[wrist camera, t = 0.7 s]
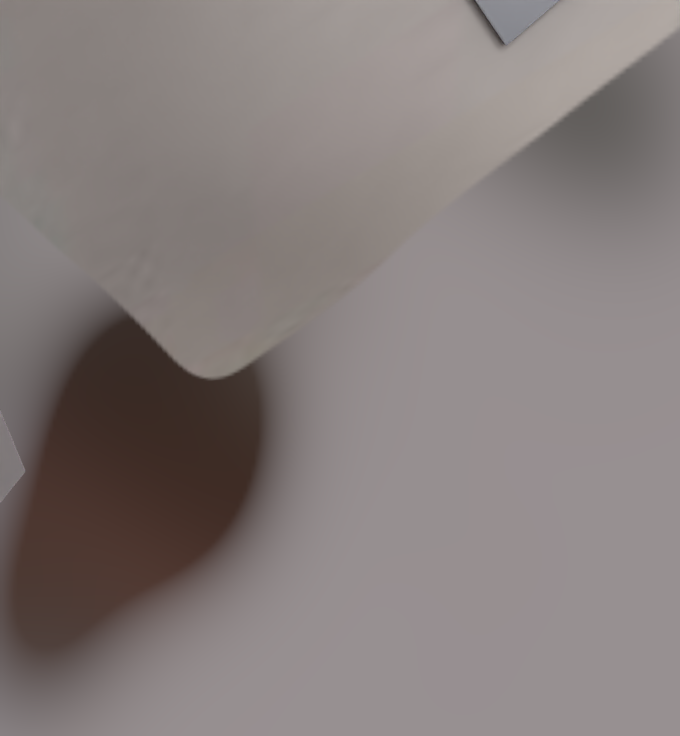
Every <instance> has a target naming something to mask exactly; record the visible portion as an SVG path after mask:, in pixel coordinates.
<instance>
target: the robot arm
mask: <svg viewBox="0 0 680 736" xmlns="http://www.w3.org/2000/svg"><path fill="white" fill-rule="evenodd" d="M24 473H25V469H24V466H23V464H22V462H21V459H20V457H19V454H18V452H17V449H16V447H15V444H14V442H13V439H12V437H11V435H10V432H9V430H8V427H7V425H6V422H5V420H4V418H3V415H2V413H1V410H0V502H1V501H2V500H3V499H4V498H5V496H6V495H7V494H8V493H9V491H10V490H11V488H13V486H14V485H15V484H16V483H17V481H18V480H19V479H20V478H21V476H22V475H23V474H24Z"/></svg>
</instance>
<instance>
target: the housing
mask: <svg viewBox="0 0 680 736" xmlns="http://www.w3.org/2000/svg"><path fill="white" fill-rule="evenodd" d="M558 1H559V0H475V2H476V3H477V5H478V6H479V8H480V9H481V11H482V12H483V14H484V15H485V17H486V18H487V20H488V21H489V23H490V24H491V26H492V27H493V28H494V30H495V31H496V33H497V34H498V36H499V37H500V39H501V40H502V42H503V43H504V44H505V45H508V44H509V43H510V42H511V41H512V40H513V39H515V38H516V37H517V36H518V35H519V34H520V33H522V32H523V31H524V30H525V29H526V28H527V27H529V26H530V25H531V24H532V23H533V22H534V21H536V20H537V19H538V18H539V17H540V16H541V15H543V14H544V13H545V12H546V11H547V10H548V9H550V8H551V7H552V6H553V5H554V4H555V3H557V2H558Z"/></svg>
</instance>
